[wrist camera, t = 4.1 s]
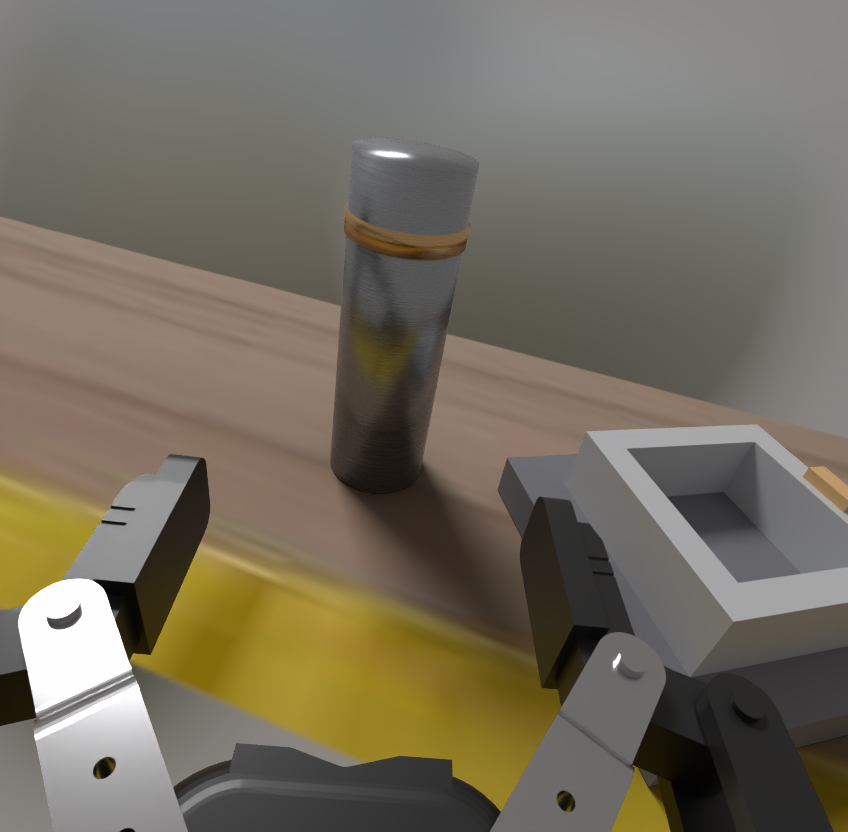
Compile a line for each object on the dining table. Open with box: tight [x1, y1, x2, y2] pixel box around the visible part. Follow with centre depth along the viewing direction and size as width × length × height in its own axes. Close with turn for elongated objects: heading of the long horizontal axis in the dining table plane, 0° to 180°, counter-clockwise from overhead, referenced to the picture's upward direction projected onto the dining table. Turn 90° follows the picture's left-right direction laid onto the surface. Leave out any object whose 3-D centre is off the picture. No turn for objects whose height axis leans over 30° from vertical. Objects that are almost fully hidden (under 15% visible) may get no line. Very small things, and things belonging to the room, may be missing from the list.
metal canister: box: [330, 138, 479, 494], centre depth 23 cm, size 5×5×14 cm
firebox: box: [498, 424, 848, 787], centre depth 22 cm, size 11×13×6 cm
